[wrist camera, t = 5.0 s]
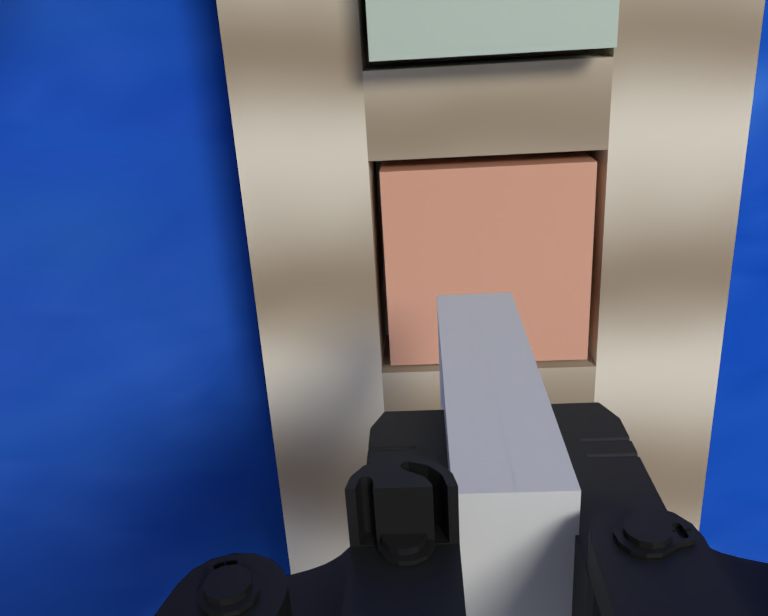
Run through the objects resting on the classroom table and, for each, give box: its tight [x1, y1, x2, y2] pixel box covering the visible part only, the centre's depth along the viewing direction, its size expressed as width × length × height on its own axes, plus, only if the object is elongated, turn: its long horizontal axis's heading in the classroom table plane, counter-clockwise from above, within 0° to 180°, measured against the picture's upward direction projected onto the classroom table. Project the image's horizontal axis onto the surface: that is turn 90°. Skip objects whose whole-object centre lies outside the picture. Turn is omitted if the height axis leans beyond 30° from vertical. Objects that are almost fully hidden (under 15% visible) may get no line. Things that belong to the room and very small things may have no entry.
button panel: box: [216, 0, 765, 575], centre depth 23 cm, size 28×14×4 cm, turn 3°
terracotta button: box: [379, 151, 597, 365], centre depth 22 cm, size 6×6×3 cm
